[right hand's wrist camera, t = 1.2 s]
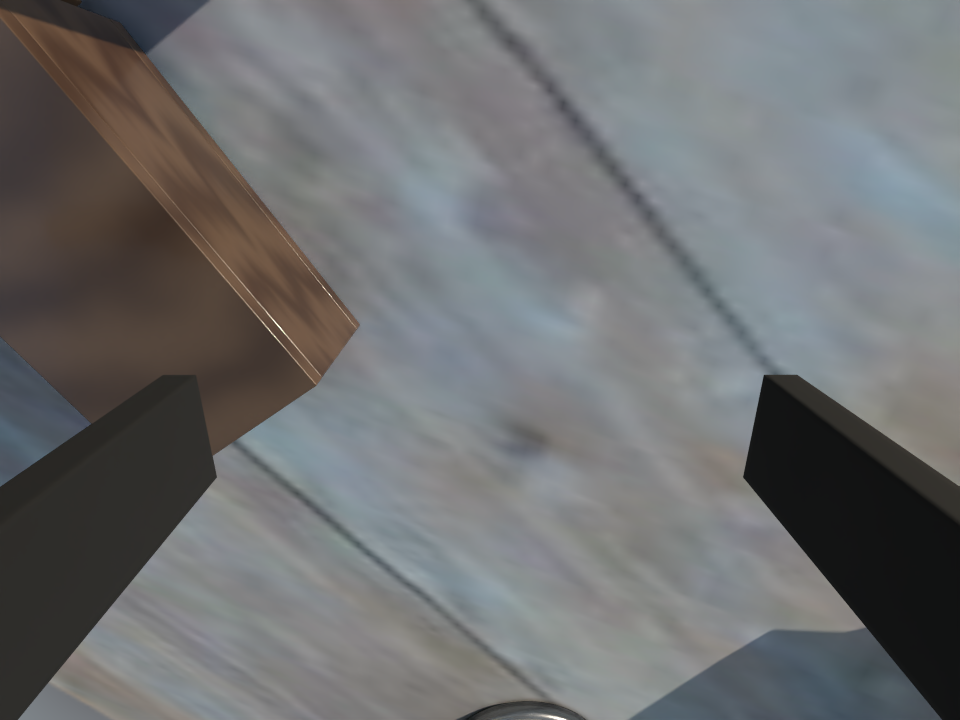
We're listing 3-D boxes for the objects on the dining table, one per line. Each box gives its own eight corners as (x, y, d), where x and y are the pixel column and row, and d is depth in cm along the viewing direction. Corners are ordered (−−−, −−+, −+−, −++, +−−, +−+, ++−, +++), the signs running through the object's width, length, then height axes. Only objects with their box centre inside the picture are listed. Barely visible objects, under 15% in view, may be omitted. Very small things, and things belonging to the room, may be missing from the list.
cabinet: (-6, 140, 33) (-214, 133, 23) (120, 22, 31) (-51, -43, 21) (241, 407, 39) (161, 490, 29) (360, 324, 37) (316, 385, 27)
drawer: (-140, -2, 29) (-370, -61, 21) (-24, -131, 27) (-230, -249, 19) (203, 367, 37) (127, 425, 29) (313, 287, 35) (264, 326, 27)
